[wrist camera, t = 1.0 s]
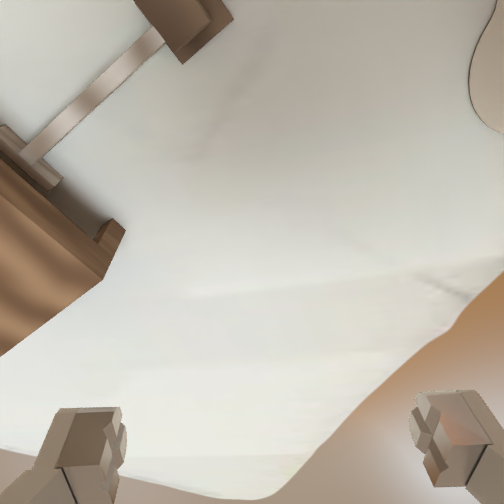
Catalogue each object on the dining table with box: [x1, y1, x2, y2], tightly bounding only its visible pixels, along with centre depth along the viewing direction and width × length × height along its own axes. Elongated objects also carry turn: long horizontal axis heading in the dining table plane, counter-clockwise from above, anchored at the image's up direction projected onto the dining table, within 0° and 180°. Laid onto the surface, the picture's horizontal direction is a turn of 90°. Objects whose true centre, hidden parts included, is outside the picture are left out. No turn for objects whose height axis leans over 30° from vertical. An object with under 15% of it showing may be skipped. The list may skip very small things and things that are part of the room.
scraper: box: [0, 0, 233, 192], centre depth 32 cm, size 24×7×12 cm, turn 127°
